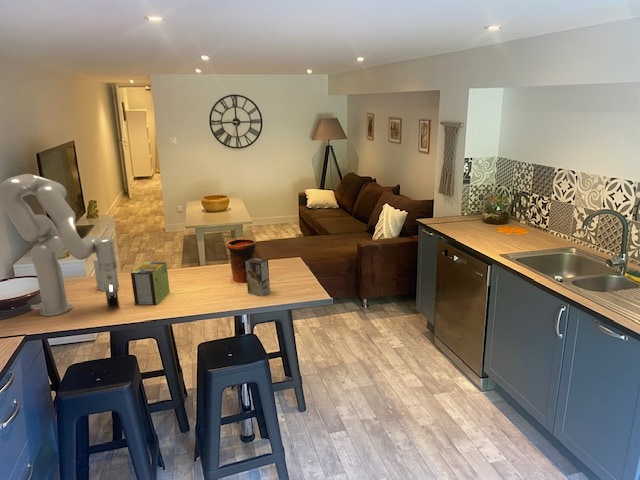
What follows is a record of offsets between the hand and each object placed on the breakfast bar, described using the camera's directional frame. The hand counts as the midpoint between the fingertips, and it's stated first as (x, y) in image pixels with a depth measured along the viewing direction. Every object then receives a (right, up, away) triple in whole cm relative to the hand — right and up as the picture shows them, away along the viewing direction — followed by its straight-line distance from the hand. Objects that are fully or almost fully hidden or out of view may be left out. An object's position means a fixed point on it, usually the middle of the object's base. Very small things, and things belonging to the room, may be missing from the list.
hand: (113, 302), depth 213 cm
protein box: (+14, 0, +9) cm, 17 cm away
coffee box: (+63, +3, +14) cm, 65 cm away
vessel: (+53, +7, +31) cm, 62 cm away
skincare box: (-13, +4, +24) cm, 27 cm away
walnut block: (0, -2, +1) cm, 2 cm away
